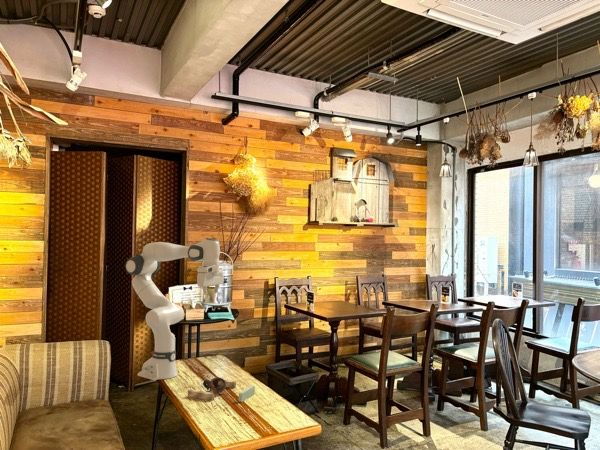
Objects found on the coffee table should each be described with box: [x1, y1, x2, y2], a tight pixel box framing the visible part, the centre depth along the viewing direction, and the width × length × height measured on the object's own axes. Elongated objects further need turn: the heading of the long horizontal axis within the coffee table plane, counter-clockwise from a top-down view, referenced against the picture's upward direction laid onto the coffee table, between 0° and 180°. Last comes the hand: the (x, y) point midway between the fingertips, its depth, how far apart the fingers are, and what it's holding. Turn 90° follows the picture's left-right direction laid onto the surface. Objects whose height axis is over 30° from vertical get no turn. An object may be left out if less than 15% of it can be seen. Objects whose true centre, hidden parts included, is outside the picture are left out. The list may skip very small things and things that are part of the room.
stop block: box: [238, 385, 256, 403], centre depth 222 cm, size 2×12×4 cm, turn 156°
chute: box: [187, 377, 237, 402], centre depth 230 cm, size 14×22×3 cm, turn 156°
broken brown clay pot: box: [202, 376, 227, 396], centre depth 230 cm, size 12×10×8 cm
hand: (211, 293), depth 245 cm, fingers open, 8 cm apart
